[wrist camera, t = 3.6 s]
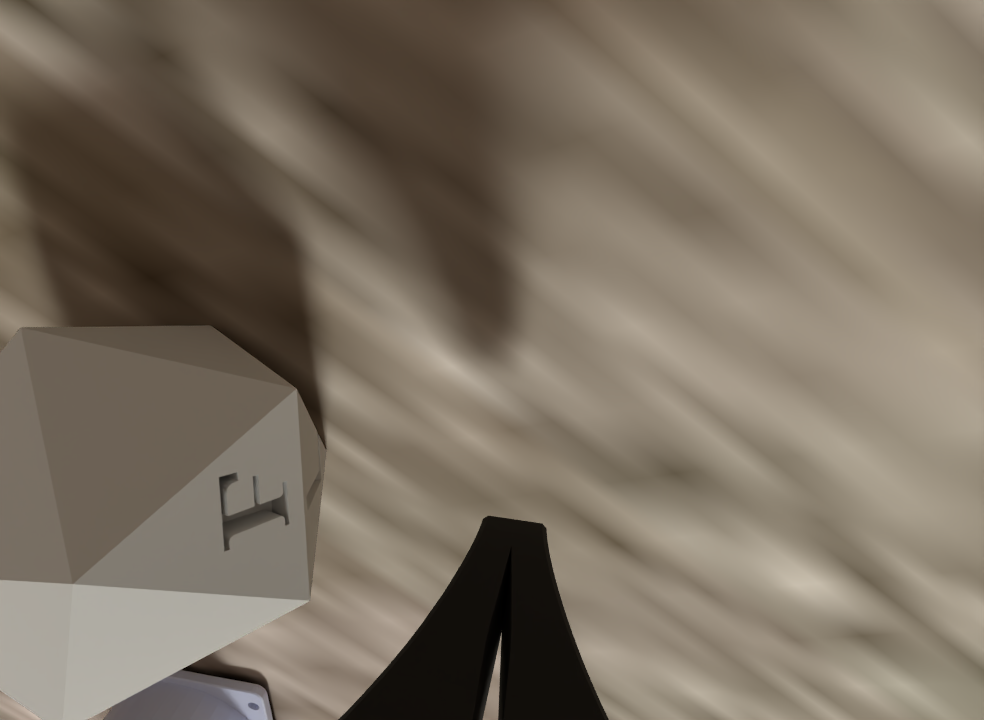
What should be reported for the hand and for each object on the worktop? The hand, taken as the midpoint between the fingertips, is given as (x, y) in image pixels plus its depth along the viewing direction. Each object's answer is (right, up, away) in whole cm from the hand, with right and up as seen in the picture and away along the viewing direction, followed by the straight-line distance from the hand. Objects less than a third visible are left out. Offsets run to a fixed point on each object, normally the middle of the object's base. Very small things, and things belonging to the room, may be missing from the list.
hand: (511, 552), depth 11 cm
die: (-8, +3, +5) cm, 10 cm away
